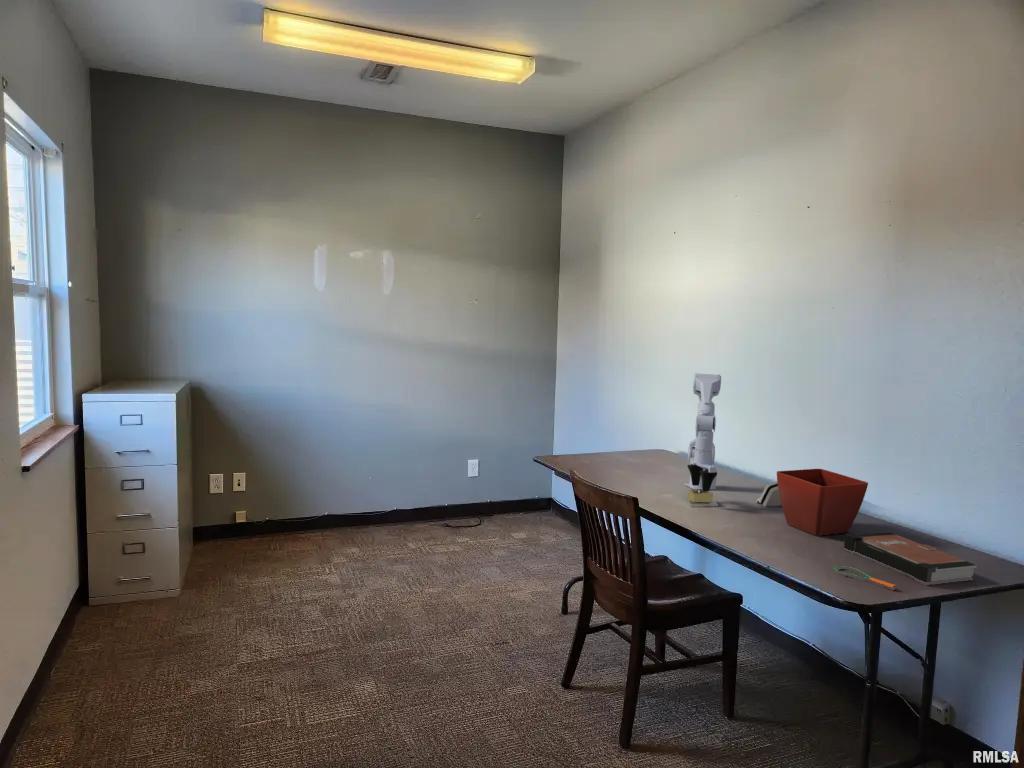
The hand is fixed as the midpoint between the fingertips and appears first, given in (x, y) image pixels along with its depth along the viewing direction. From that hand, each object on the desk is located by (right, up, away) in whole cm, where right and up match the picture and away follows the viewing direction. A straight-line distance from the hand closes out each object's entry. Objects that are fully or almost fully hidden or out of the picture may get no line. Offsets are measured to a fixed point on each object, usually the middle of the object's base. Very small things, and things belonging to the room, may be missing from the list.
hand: (700, 488), depth 233 cm
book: (+42, -13, -51) cm, 67 cm away
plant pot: (+30, -10, -23) cm, 39 cm away
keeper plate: (0, -6, 0) cm, 6 cm away
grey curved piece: (+30, -7, +5) cm, 31 cm away
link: (0, -4, 0) cm, 4 cm away
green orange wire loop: (+23, -14, -64) cm, 69 cm away
